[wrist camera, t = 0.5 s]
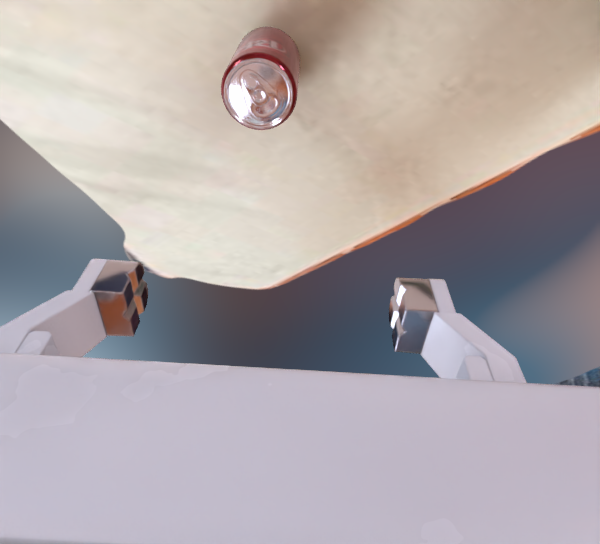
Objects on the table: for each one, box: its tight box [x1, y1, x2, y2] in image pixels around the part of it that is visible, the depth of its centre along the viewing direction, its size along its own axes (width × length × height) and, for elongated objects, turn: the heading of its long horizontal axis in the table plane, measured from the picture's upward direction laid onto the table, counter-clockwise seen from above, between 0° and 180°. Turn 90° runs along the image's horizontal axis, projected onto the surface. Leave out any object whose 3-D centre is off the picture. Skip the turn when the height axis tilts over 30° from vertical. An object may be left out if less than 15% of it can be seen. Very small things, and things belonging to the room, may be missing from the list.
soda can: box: [221, 27, 300, 130], centre depth 49 cm, size 7×7×12 cm
